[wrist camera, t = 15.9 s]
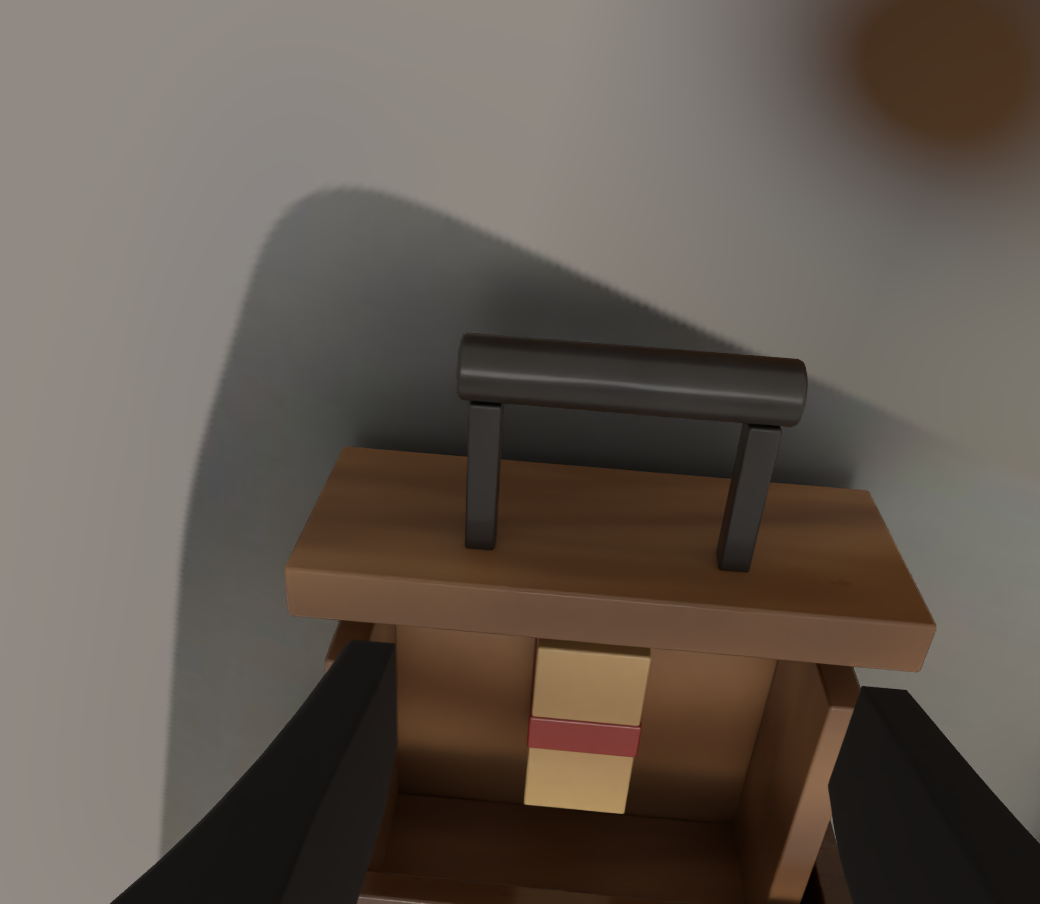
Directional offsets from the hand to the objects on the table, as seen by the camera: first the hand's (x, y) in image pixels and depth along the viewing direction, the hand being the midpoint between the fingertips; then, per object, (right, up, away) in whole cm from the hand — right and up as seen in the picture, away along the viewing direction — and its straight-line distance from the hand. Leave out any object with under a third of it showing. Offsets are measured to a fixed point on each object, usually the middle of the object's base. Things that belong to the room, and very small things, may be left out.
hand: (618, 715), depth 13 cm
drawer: (0, 0, +10) cm, 10 cm away
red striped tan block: (0, -1, +9) cm, 9 cm away
